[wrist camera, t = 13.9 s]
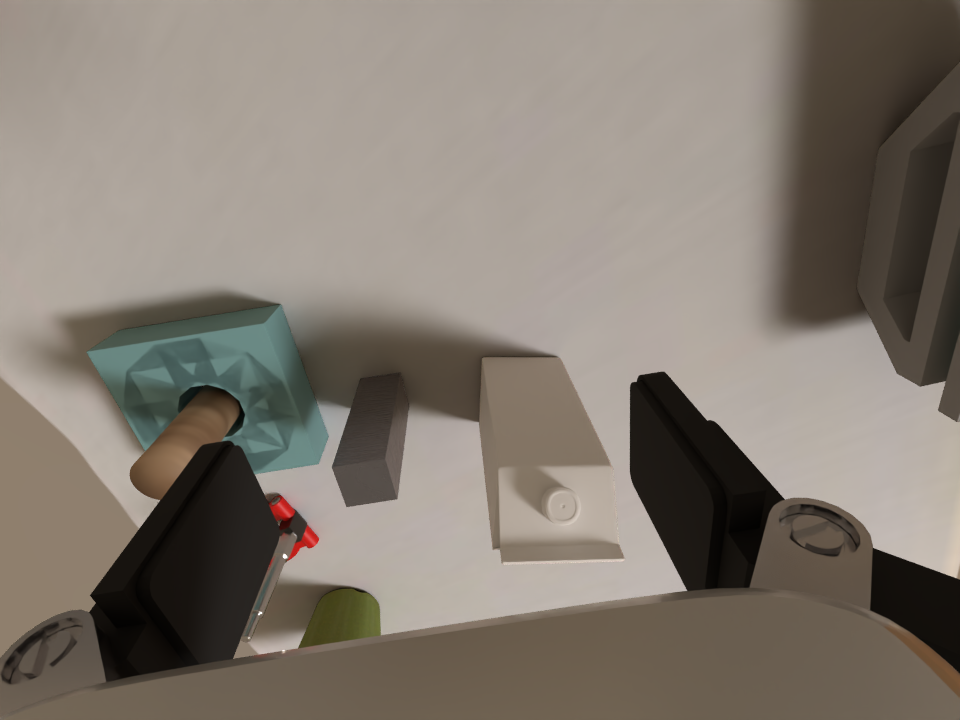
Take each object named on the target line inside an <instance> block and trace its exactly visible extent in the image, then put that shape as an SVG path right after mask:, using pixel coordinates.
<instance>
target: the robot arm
mask: <svg viewBox="0 0 960 720" xmlns="http://www.w3.org/2000/svg"><path fill="white" fill-rule="evenodd" d="M630 475H631V479H632V483H633V485H634V487H635V489H636V491H637V493H638V495H639V497H640V499H641V501H642V503H643V505H644V507H645V509H646V511H647V513H648V515H649V517H650V519H651V521H652V523H653V525H654V526H655V528H656V530H657V532H658V534H659V536H660V538H661V540H662V542H663V544H664V546H665V548H666V550H667V552H668V554H669V556H670V558H671V560H672V562H673V564H674V566H675V568H676V570H677V572H678V573H679V575H680V577H681V579H682V581H683V583H684V585H685V587H686V589H687V591H683V592H674V593H667V594H659V595H652V596H644V597H636V598H629V599H621V600H614V601H606V602H599V603H592V604H585V605H579V606H572V607H565V608H558V609H552V610H545V611H538V612H532V613H525V614H518V615H511V616H505V617H498V618H491V619H485V620H478V621H471V622H465V623H458V624H452V625H445V626H439V627H432V628H426V629H419V630H413V631H406V632H400V633H393V634H387V635H381V636H374V637H368V638H361V639H355V640H348V641H342V642H336V643H329V644H323V645H317V646H311V647H304V648H298V649H292V650H286V651H279V652H273V653H267V654H261V655H255V656H249V657H242V658H236V659H233V657H234V654H235V652H236V649H237V647H238V644H239V642H240V639H241V637H242V634H243V631H244V629H245V626H246V624H247V621H248V619H249V616H250V614H251V611H252V608H253V606H254V603H255V601H256V598H257V596H258V593H259V591H260V588H261V585H262V583H263V580H264V578H265V575H266V573H267V570H268V568H269V565H270V562H271V560H272V557H273V555H274V552H275V550H276V547H277V545H278V542H279V538H280V529H279V525H278V523H277V521H276V519H275V517H274V515H273V512H272V510H271V508H270V506H269V504H268V502H267V500H266V498H265V495H264V493H263V491H262V489H261V487H260V485H259V483H258V481H257V479H256V476H255V474H254V472H253V470H252V468H251V466H250V464H249V462H248V460H247V457H246V455H245V453H244V451H243V449H242V448H241V447H240V446H239V445H234V443H233V442H231V441H228V440H227V441H221V442H215V443H208V444H204V445H202V446H201V447H200V448H199V449H198V450H197V452H196V453H195V455H194V456H193V457H192V459H191V460H190V461H189V463H188V464H187V465H186V467H185V468H184V469H183V471H182V472H181V473H180V475H179V476H178V477H177V479H176V480H175V481H174V483H173V484H172V486H171V487H170V488H169V490H168V491H167V492H166V494H165V495H164V496H163V498H162V499H161V500H160V502H159V503H158V504H157V506H156V507H155V508H154V510H153V511H152V513H151V514H150V515H149V517H148V518H147V519H146V521H145V522H144V523H143V525H142V526H141V527H140V529H139V530H138V531H137V533H136V534H135V536H134V537H133V538H132V540H131V541H130V542H129V544H128V545H127V546H126V548H125V549H124V550H123V552H122V553H121V554H120V556H119V557H118V559H117V560H116V561H115V563H114V564H113V565H112V567H111V568H110V569H109V571H108V572H107V573H106V575H105V576H104V577H103V579H102V580H101V581H100V583H99V584H98V585H97V587H96V588H95V590H94V591H93V592H92V594H91V595H90V596H91V597H92V599H93V600H94V601H95V602H96V604H95V605H94V607H93V608H92V609H91V611H90V612H87V611H84V610H72V611H67V612H64V613H61V614H58V615H56V616H53V617H51V618H49V619H47V620H46V621H43V622H42V623H40V624H39V625H37V626H35V627H34V628H33V629H31V630H30V631H28V632H27V633H25V634H24V635H23V636H22V637H21V638H19V639H18V640H17V641H16V642H15V643H14V644H13V645H11V647H10V648H9V649H8V650H7V651H6V652H5V653H4V655H2V657H1V658H0V720H960V580H959V579H957V578H954V577H951V576H948V575H946V574H943V573H940V572H937V571H935V570H932V569H929V568H926V567H924V566H921V565H918V564H915V563H913V562H910V561H907V560H904V559H902V558H899V557H896V556H893V555H891V554H888V553H885V552H882V551H880V550H877V549H874V548H873V545H872V540H871V536H870V534H869V532H868V531H867V530H866V528H865V527H864V525H863V524H862V523H861V522H860V521H858V520H857V519H856V518H855V517H854V516H853V515H851V514H850V513H848V512H846V511H844V510H843V509H841V508H839V507H837V506H835V505H832V504H829V503H827V502H824V501H820V500H815V499H810V498H791V499H786V500H785V499H784V498H783V497H782V496H781V495H780V494H779V493H778V491H777V490H776V489H775V488H774V487H773V486H772V485H771V483H770V482H769V481H768V480H767V479H766V478H765V477H764V476H763V474H762V473H761V472H760V471H759V470H758V469H757V468H756V467H755V465H754V464H753V463H752V462H751V461H750V460H749V459H748V458H747V456H746V455H745V454H744V453H743V452H742V451H741V450H740V449H739V447H738V446H737V445H736V444H735V443H734V442H733V441H732V440H731V438H730V437H729V436H728V435H727V434H726V433H725V432H724V430H723V429H722V428H721V427H720V426H719V425H718V424H717V423H716V422H714V421H711V420H709V421H707V420H706V419H705V418H704V417H703V415H702V414H701V413H700V412H699V411H698V410H697V408H696V407H695V406H694V405H693V404H692V403H691V402H690V400H689V399H688V398H687V397H686V396H685V395H684V393H683V392H682V391H681V390H680V389H679V388H678V386H677V385H676V384H675V383H674V382H673V381H672V379H671V378H670V377H669V376H668V375H667V374H666V373H665V372H657V373H650V374H644V375H639V376H638V379H637V382H633V383H631V386H630Z"/></svg>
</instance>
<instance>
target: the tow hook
mask: <svg viewBox="0 0 960 720" xmlns="http://www.w3.org/2000/svg"><path fill="white" fill-rule="evenodd" d="M268 504H269V506H270V508H271V510H272V512H273V515H274V517H275V519H276V521H278V520H281V519H282V521H281V523H280V525H279V529H280V538H279V542H278V545H277V547H276V550H275V552H274V555H273V557H272V560H271V562H270V566H269V568H268V570H267V573H266V575H265V578H264V580H263V583H262V585H261V588H260V591H259V593H258V596H257V598H256V601H255V603H254V606H253V608H252V611H251V614H250V618H249V620H248V623H247V625H246V627H245V630H244V632H243V634H242V637H241V640H242V641H243V642H249V641H250V640H251V638H252V636H253V633H254V631H255V628H256V626H257V623H258V621H259V619H260V618H262V617H263V615H264V613H265V610H266V608H267V605H268V603H269V601H270V598H271V596H272V593H273V591H274V588H275V586H276V583H277V581H278V578H279V576H280V573H281V571H282V569H283V566H284V564H285V563H286V562H287V561H288V560H290V559H291V558H293V557H294V556H295V555H296V554H297V552H298V551H299V549H300V548H302V547H304V546H307V547H308V548H312V547H314V546H315V545H316V544H317V543H318V541H319V538H318V536H317V535H316V534H315V533H314V532H313V531H312V530H311V528H310V527H309V526H308V525H307V522H306V521H305V520H304V519H303V518H302V517H301V515H300V514H299V513H298V512H297V511H296V510H294V509H293V508H292V507H291V506H290V505H289V504H288V502H287V501H286V500H285V499H284V498H283V497H282V496H277V497H275V498H274V499H273V500H272V501H271V502H270V503H268Z"/></svg>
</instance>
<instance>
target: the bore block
mask: <svg viewBox="0 0 960 720" xmlns="http://www.w3.org/2000/svg"><path fill="white" fill-rule="evenodd" d="M87 354H88V356H89V357H90V359H91V361H92V362H93V364H94V366H95V367H96V369H97V371H98V372H99V374H100V376H101V377H102V379H103V381H104V383H105V384H106V386H107V388H108V389H109V391H110V393H111V394H112V396H113V398H114V399H115V401H116V403H117V404H118V406H119V408H120V410H121V411H122V413H123V415H124V416H125V418H126V420H127V421H128V423H129V425H130V426H131V428H132V430H133V431H134V433H135V435H136V436H137V438H138V440H139V442H140V443H141V445H142V447H143V448H144V450H145V451H146V450H147V449H148V448H149V447H150V446H151V445H152V443H153V442H154V441H155V440H156V439H157V438H158V437H159V436H160V434H161V433H162V432H163V431H164V430H165V429H166V428H167V427H168V426H169V424H170V423H171V422H172V421H173V420H174V419H175V418H176V417H177V416H178V414H179V413H180V412H181V411H182V410H183V409H184V408H185V407H186V406H187V404H188V403H189V402H190V401H191V400H192V399H193V398H194V397H195V395H196V394H197V393H198V392H199V391H200V390H201V389H202V387H201V386H202V385H210V386H214V387H218V388H221V389H225V390H226V391H228V392H229V393H230V394H231V395H233V396H234V397H235V398H237V399H238V400H239V401H240V404H241V406H242V408H243V410H244V411H242V412H241V414H240V415H239V417H238V418H237V420H236V421H235V422H234V424H233V425H232V427H231V428H230V430H229V431H228V433H227V434H226V435H225V437H224V438H223V440H222V441H227V440H228V441H231V442H233V443H234V445H239V446H240V447H241V448H242V449H243V451H244V453H245V455H246V457H247V460H248V462H249V464H250V466H251V468H252V470H253V472H254V474H259V473H265V472H271V471H278V470H284V469H290V468H297V467H303V466H309V465H316V464H319V462H320V459H321V456H322V453H323V451H324V448H325V445H326V442H327V440H328V437H329V436H328V433H327V431H326V428H325V425H324V422H323V419H322V417H321V414H320V411H319V408H318V406H317V403H316V400H315V397H314V395H313V392H312V389H311V386H310V383H309V381H308V378H307V375H306V372H305V370H304V367H303V364H302V361H301V359H300V356H299V353H298V350H297V347H296V345H295V342H294V339H293V336H292V334H291V331H290V328H289V325H288V323H287V320H286V317H285V314H284V311H283V309H282V306H281V304H280V305H274V306H267V307H261V308H255V309H249V310H242V311H236V312H230V313H224V314H218V315H211V316H205V317H199V318H193V319H186V320H180V321H174V322H168V323H162V324H155V325H149V326H143V327H137V328H130V329H124V330H119V331H117V332H116V333H114V334H113V335H111V336H110V337H108V338H107V339H105V340H104V341H102V342H101V343H99V344H98V345H96V346H95V347H93V348H91V349H90V350H88V351H87Z"/></svg>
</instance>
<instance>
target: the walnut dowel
mask: <svg viewBox="0 0 960 720" xmlns="http://www.w3.org/2000/svg"><path fill="white" fill-rule="evenodd" d="M242 411H243V408H242V406H241V404H240V401H239V400H238V399H237V398H235V397H234V396H233V395H231V394H230V393H229V392H228V391H226V390H225V389H221V388H218V387H214V386H210V385H204V387H203V388H202V389H201V390H200V391H199V392H198V393H197V394H196V395H195V397H194V398H193V399H192V400H191V401H190V402H189V403H188V404H187V406H186V407H185V408H184V409H183V410H182V411H181V412H180V413H179V414H178V416H177V417H176V418H175V419H174V420H173V421H172V422H171V423H170V424H169V426H168V427H167V428H166V429H165V430H164V431H163V432H162V433H161V434H160V436H159V437H158V438H157V439H156V440H155V441H154V442H153V443H152V445H151V446H150V447H149V448H148V449H147V450H146V451H145V452H144V453H143V455H142V456H141V457H140V458H139V459H138V460H137V461H136V462H135V463H134V465H133V466H132V467H131V469H130V479H131V482H132V484H133V485H134V486H135V487H136V489H137V490H139V491H140V492H141V493H143V494H144V495H146V496H148V497H151V498H154V499H157V500H161V499H162V498H163V496H164V495H165V494H166V492H167V491H168V490H169V488H170V487H171V486H172V484H173V483H174V481H175V480H176V479H177V477H178V476H179V475H180V473H181V472H182V471H183V469H184V468H185V467H186V465H187V464H188V463H189V461H190V460H191V459H192V457H193V456H194V455H195V453H196V452H197V450H198V449H199V448H200V447H201V446H202V445H204V444H208V443H215V442H221V441H222V440H223V438H224V437H225V435H226V434H227V433H228V431H229V430H230V428H231V427H232V425H233V424H234V422H235V421H236V420H237V418H238V417H239V415H240V414H241V412H242Z"/></svg>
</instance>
